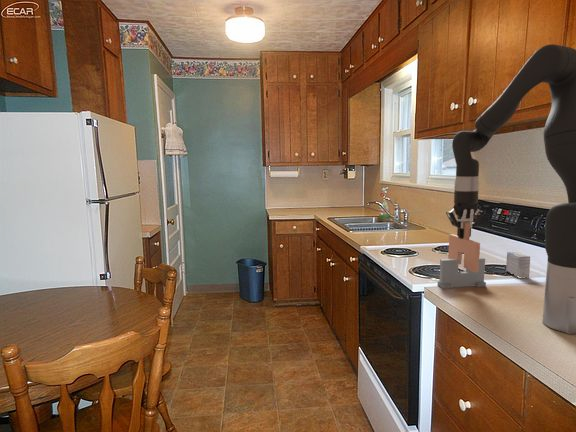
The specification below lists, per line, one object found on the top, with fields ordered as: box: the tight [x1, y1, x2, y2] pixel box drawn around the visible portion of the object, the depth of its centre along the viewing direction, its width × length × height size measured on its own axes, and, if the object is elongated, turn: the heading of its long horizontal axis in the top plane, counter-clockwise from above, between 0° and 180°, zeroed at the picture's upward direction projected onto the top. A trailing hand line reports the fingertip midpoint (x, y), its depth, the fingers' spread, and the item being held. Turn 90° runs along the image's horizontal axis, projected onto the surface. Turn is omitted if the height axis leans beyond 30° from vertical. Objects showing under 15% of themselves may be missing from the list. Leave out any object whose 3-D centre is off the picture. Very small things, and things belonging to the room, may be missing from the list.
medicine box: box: [505, 251, 531, 278], centre depth 138 cm, size 8×4×9 cm, turn 179°
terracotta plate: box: [447, 221, 481, 272], centre depth 125 cm, size 16×2×16 cm, turn 5°
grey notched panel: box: [437, 257, 487, 290], centre depth 127 cm, size 16×4×10 cm, turn 96°
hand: (463, 238), depth 125 cm, fingers closed on terracotta plate, 1 cm apart
